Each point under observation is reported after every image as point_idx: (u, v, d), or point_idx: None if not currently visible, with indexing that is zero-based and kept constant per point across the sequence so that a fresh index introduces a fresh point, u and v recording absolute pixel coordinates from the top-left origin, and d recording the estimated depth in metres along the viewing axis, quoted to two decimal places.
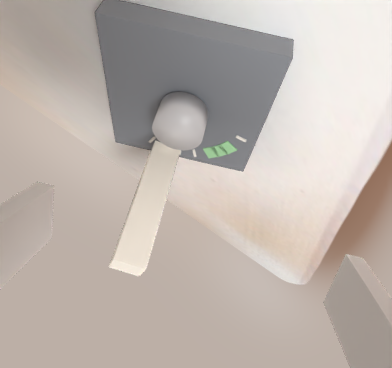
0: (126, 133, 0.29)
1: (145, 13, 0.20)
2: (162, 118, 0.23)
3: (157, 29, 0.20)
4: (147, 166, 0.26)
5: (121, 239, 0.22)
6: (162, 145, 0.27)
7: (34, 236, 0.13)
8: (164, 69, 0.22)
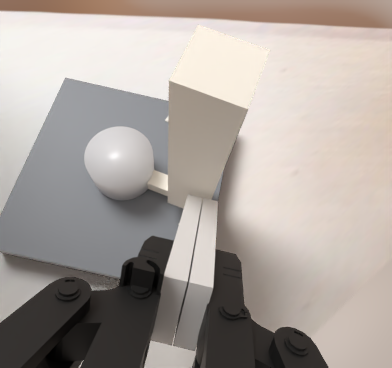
0: None
1: None
2: (93, 171, 0.18)
3: (17, 184, 0.20)
4: (168, 183, 0.16)
5: (170, 109, 0.10)
6: None
7: None
8: (65, 186, 0.20)
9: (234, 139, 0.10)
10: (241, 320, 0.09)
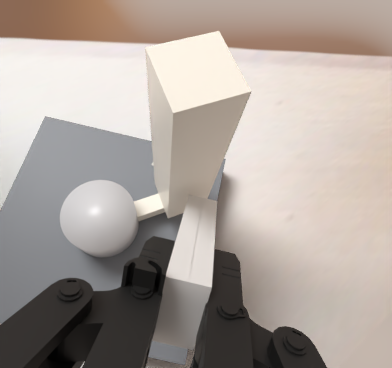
0: None
1: None
2: (89, 244, 0.16)
3: None
4: (168, 202, 0.16)
5: (171, 138, 0.10)
6: (163, 206, 0.19)
7: None
8: (42, 241, 0.19)
9: (237, 123, 0.11)
10: (239, 320, 0.09)
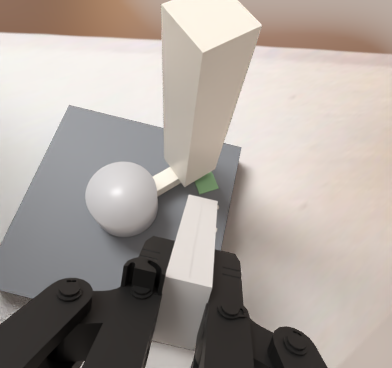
0: None
1: None
2: (121, 221, 0.17)
3: (16, 218, 0.19)
4: (186, 166, 0.17)
5: (197, 83, 0.11)
6: (178, 176, 0.20)
7: None
8: (65, 220, 0.19)
9: (248, 64, 0.12)
10: (240, 320, 0.09)
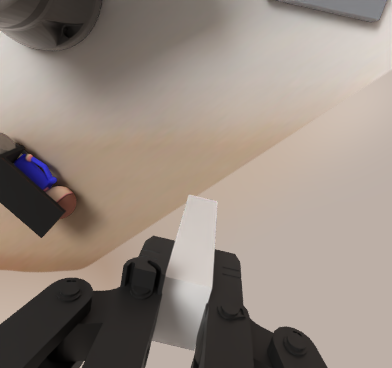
0: (368, 4, 0.35)
1: None
2: None
3: None
4: None
5: None
6: None
7: None
8: None
9: None
10: (240, 320, 0.09)
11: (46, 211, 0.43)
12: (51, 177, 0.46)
